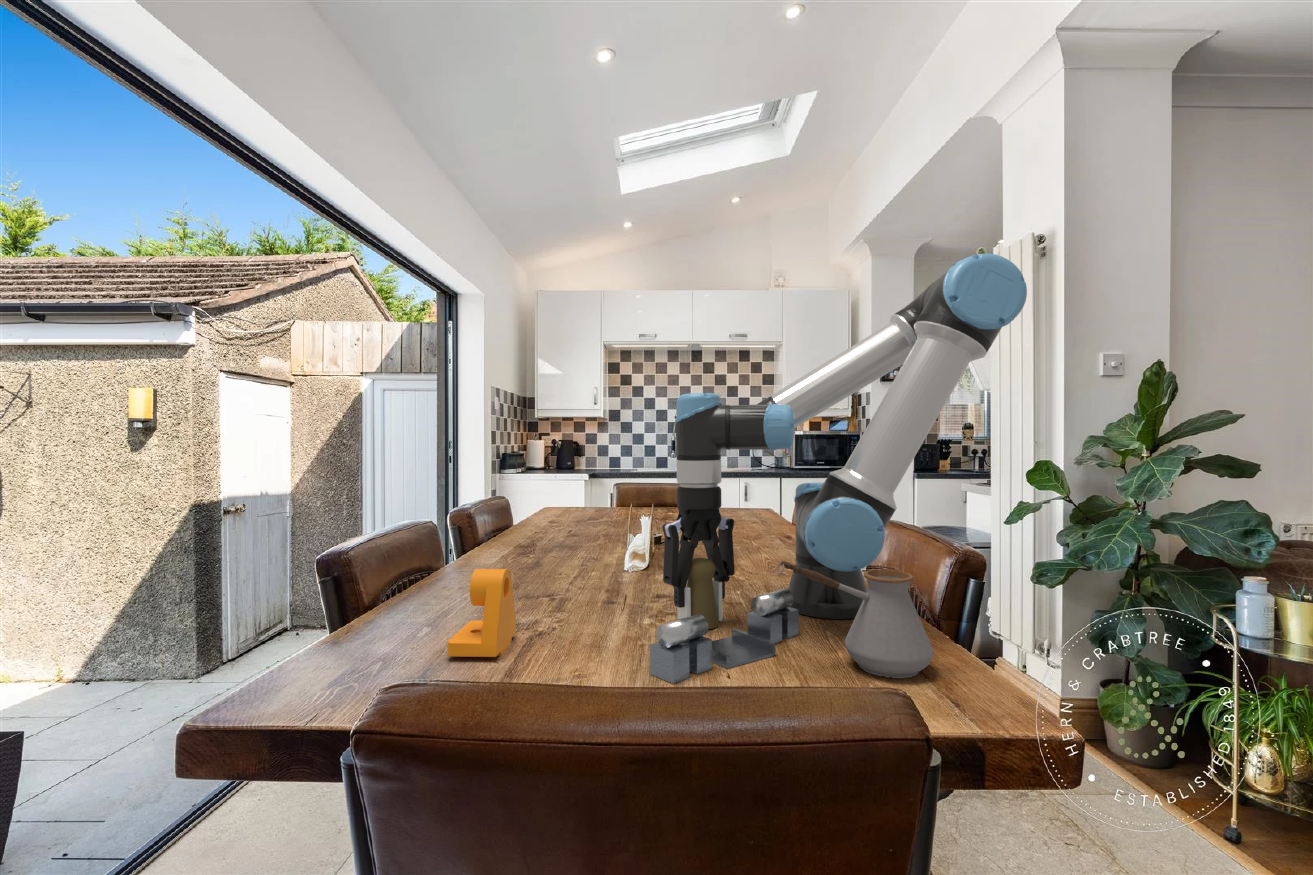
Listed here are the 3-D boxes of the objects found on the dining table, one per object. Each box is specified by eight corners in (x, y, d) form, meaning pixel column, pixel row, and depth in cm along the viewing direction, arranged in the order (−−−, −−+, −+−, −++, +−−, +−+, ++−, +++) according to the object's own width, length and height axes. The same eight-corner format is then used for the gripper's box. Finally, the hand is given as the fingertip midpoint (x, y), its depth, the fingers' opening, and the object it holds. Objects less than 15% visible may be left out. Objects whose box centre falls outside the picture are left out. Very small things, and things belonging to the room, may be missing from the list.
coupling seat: (734, 638, 96) (734, 628, 96) (775, 655, 88) (775, 644, 88) (687, 649, 91) (687, 638, 91) (726, 668, 83) (726, 657, 83)
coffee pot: (907, 651, 90) (907, 550, 90) (951, 682, 78) (951, 566, 78) (766, 656, 88) (765, 552, 88) (790, 689, 77) (789, 570, 77)
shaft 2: (770, 645, 93) (770, 599, 92) (747, 638, 96) (747, 593, 96) (798, 634, 98) (798, 590, 98) (775, 627, 101) (775, 585, 101)
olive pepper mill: (675, 624, 102) (674, 559, 102) (697, 616, 107) (697, 553, 107) (703, 632, 98) (702, 564, 98) (725, 623, 103) (725, 558, 103)
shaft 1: (688, 659, 87) (688, 610, 87) (712, 668, 83) (711, 617, 83) (650, 674, 82) (650, 622, 81) (673, 683, 78) (673, 629, 78)
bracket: (470, 637, 97) (470, 561, 97) (515, 637, 97) (515, 562, 97) (445, 662, 86) (445, 577, 86) (496, 662, 86) (495, 577, 86)
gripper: (727, 481, 111) (729, 607, 111) (639, 486, 101) (640, 626, 101) (756, 483, 105) (757, 617, 105) (664, 490, 94) (666, 639, 94)
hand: (700, 621), depth 103 cm, fingers closed on olive pepper mill, 6 cm apart
